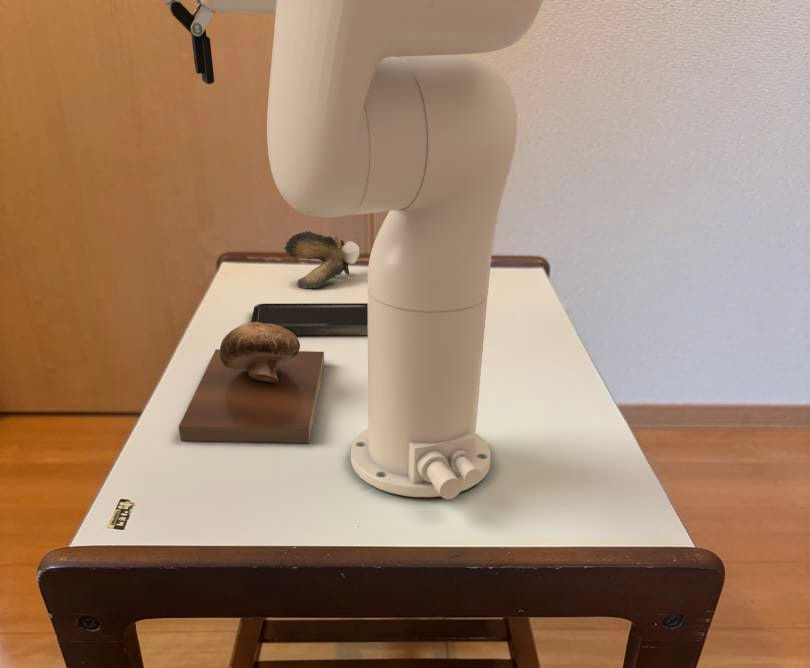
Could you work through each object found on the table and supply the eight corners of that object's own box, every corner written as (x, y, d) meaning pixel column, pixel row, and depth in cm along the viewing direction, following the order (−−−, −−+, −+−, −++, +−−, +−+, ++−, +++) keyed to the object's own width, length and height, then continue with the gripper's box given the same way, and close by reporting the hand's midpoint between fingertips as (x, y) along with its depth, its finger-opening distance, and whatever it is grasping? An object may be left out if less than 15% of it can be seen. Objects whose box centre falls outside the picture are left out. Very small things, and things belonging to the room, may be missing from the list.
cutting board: (309, 443, 74) (308, 429, 73) (180, 440, 74) (178, 426, 73) (324, 364, 88) (324, 351, 87) (217, 361, 88) (215, 349, 87)
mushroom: (283, 370, 75) (268, 306, 75) (213, 393, 78) (198, 330, 78) (318, 378, 83) (305, 320, 83) (253, 398, 85) (240, 342, 85)
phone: (254, 303, 100) (373, 303, 101) (255, 312, 100) (373, 311, 101) (249, 326, 93) (376, 326, 94) (250, 336, 94) (376, 335, 95)
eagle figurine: (323, 256, 116) (275, 257, 110) (345, 219, 111) (296, 217, 105) (349, 296, 114) (302, 299, 108) (373, 260, 109) (325, 261, 103)
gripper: (143, -150, 65) (174, 88, 75) (344, -136, 70) (347, 84, 80) (134, -142, 71) (164, 78, 81) (320, -130, 76) (326, 75, 86)
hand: (255, 81), depth 81 cm, fingers open, 9 cm apart
